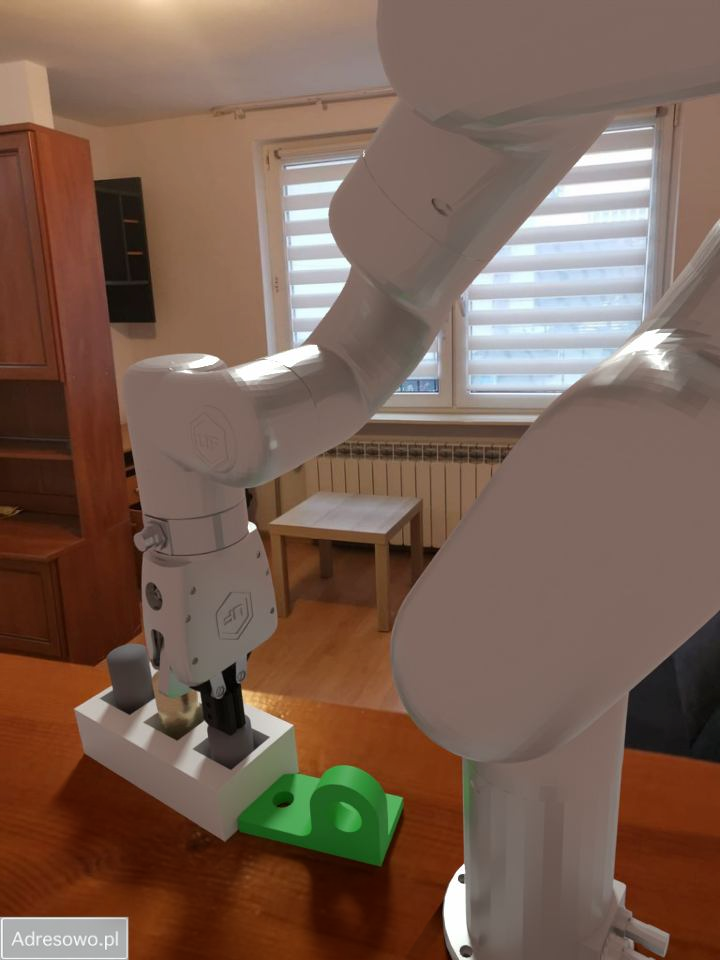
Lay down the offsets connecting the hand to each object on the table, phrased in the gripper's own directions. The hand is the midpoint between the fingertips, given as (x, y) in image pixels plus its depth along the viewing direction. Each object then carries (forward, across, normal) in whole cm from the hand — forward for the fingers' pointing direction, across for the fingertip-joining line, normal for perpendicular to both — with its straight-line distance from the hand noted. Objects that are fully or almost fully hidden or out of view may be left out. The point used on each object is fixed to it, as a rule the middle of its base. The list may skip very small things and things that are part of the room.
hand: (225, 724), depth 60 cm
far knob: (+4, 0, +13) cm, 13 cm away
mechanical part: (+8, +2, -8) cm, 12 cm away
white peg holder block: (+8, 0, +6) cm, 10 cm away
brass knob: (+4, 0, +6) cm, 7 cm away
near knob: (+6, 0, 0) cm, 6 cm away
